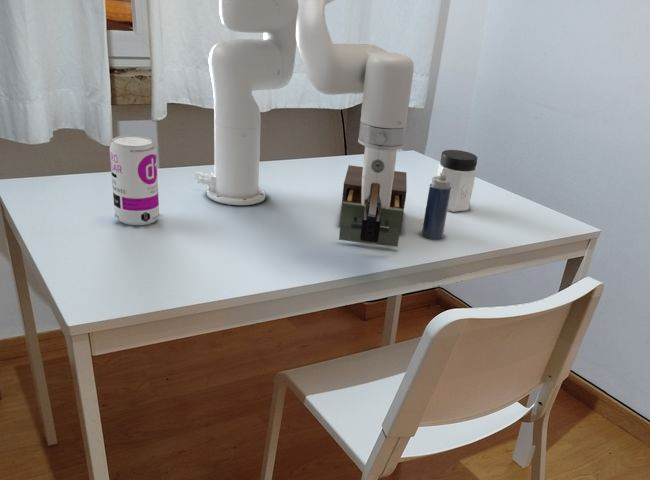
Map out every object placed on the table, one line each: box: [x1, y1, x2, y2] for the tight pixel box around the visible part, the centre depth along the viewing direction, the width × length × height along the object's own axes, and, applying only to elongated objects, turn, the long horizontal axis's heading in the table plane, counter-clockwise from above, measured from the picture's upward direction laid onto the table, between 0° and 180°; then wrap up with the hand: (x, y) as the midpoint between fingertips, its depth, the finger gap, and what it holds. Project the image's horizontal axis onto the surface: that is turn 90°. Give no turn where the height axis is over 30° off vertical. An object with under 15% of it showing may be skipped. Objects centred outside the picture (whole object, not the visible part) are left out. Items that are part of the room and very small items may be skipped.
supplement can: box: [109, 135, 160, 226], centre depth 126 cm, size 8×8×15 cm
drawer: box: [338, 188, 404, 248], centre depth 131 cm, size 17×11×7 cm
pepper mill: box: [421, 173, 452, 240], centre depth 136 cm, size 4×4×13 cm
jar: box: [436, 149, 478, 213], centre depth 154 cm, size 9×8×12 cm
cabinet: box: [338, 164, 408, 235], centre depth 141 cm, size 14×13×9 cm
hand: (369, 239), depth 119 cm, fingers closed
